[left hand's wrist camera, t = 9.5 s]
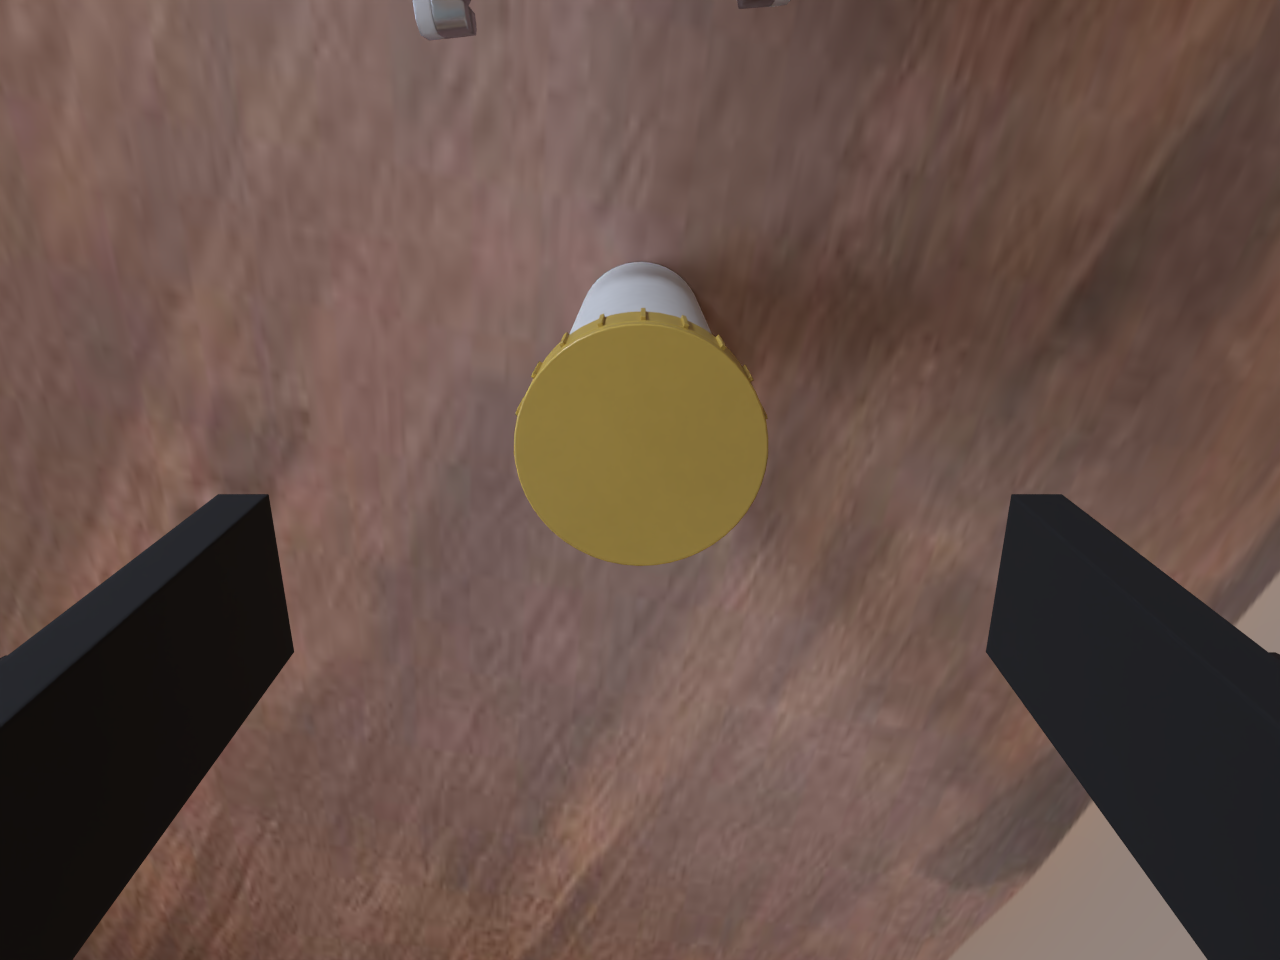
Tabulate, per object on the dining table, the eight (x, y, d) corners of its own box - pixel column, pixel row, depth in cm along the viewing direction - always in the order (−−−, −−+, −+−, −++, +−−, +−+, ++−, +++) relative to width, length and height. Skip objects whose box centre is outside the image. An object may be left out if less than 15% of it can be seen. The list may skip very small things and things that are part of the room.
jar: (630, 235, 33) (623, 289, 18) (726, 314, 34) (795, 429, 19) (555, 333, 35) (489, 460, 19) (649, 406, 36) (656, 582, 20)
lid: (621, 254, 19) (619, 262, 17) (811, 410, 20) (826, 432, 19) (474, 444, 21) (459, 469, 19) (658, 579, 22) (660, 613, 20)
